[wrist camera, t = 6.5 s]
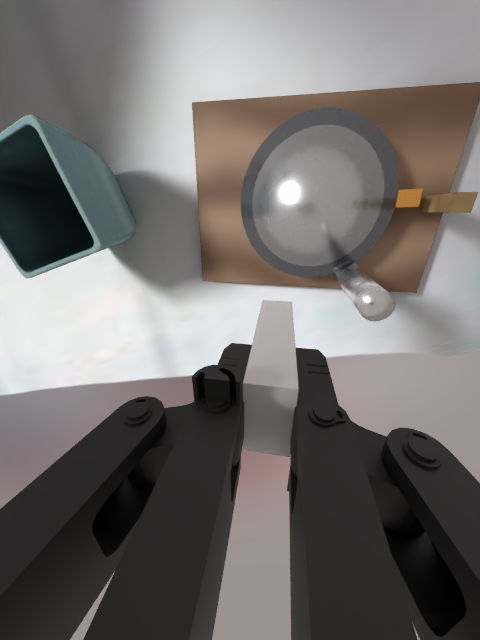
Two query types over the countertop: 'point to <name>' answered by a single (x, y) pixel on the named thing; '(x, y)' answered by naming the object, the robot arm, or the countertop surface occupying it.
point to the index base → (411, 155)
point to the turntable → (325, 200)
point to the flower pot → (56, 198)
